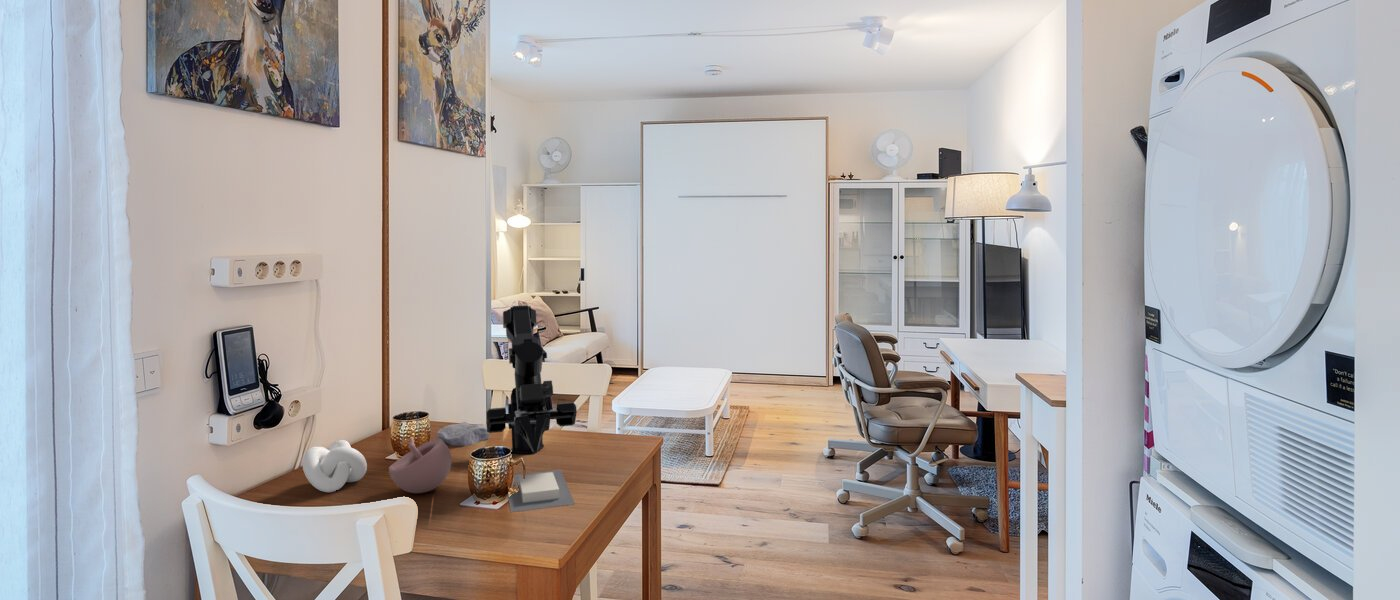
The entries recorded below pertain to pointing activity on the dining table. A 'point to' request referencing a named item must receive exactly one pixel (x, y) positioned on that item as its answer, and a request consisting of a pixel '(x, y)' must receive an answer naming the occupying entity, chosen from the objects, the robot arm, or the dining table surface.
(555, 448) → the dining table surface
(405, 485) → the mortar and pestle
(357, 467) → the white knot sculpture
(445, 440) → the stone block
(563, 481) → the mat
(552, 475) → the tile
